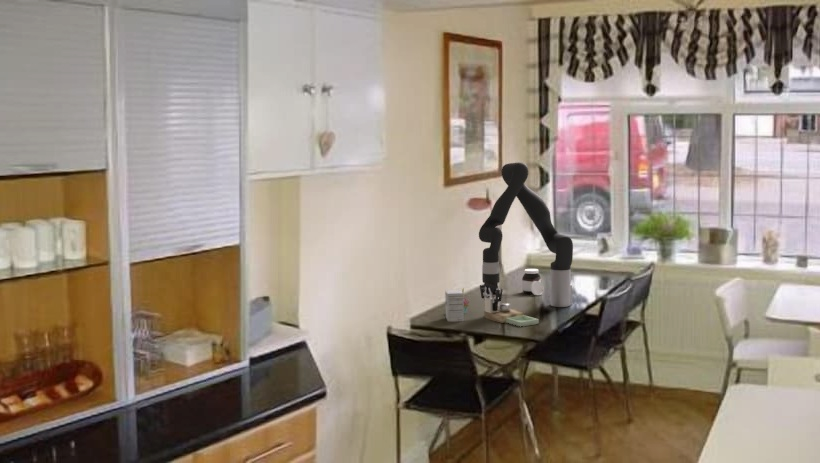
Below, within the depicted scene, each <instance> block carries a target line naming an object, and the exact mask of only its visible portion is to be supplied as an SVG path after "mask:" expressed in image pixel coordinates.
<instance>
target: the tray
mask: <svg viewBox="0 0 820 463" xmlns="http://www.w3.org/2000/svg"><path fill="white" fill-rule="evenodd" d="M539 322H540V321H539V318H535V317H532V316H528V315H526V316H525V315H522V316H516V317H510V318H506V322H505V323H506V324H508V323H509V325H512V324H513V325H512V326H515V325H516V327H519V326H520V327H519V328H522V327H521V326H523V327H528V326H534V325H538V324H539Z"/></svg>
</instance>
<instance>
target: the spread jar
mask: <svg viewBox="0 0 820 463" xmlns="http://www.w3.org/2000/svg"><path fill="white" fill-rule="evenodd" d="M521 290H522V292H523V293H524V294H525V295H534V296H541V295H542V294H543V293H544V291H545V288H544V285H543V283H542V276H541V275H540V274H539V269H538V268H526V269H524V273H523V276H522V278H521Z"/></svg>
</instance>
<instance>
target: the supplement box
mask: <svg viewBox="0 0 820 463" xmlns="http://www.w3.org/2000/svg"><path fill="white" fill-rule="evenodd" d="M444 298H445V318H446V321H447V322H448V323H449V322H464V321H465V314H464V299H465V296H464V292H462V290H461V289H454V290H453V289H452V290H449V289H447V290H445V296H444Z"/></svg>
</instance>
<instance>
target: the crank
mask: <svg viewBox="0 0 820 463" xmlns="http://www.w3.org/2000/svg"><path fill="white" fill-rule="evenodd" d="M495 295H496V294H495ZM494 298H495V297H494ZM511 306H512V305H511V303H509V302H502V303H501V302H500V303H498V309H499V311H500V312H510V311H511V308H512V307H511Z"/></svg>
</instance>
